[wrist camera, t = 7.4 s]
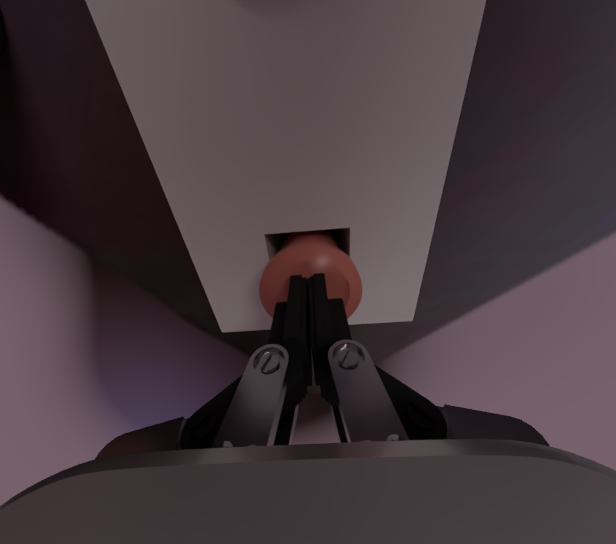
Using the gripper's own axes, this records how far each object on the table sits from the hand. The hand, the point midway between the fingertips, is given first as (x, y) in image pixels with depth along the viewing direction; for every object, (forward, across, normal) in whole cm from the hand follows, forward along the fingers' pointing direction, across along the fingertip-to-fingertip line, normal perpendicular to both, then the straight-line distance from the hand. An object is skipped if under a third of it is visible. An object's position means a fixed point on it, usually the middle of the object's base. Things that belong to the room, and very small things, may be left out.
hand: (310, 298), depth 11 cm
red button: (+5, 0, 0) cm, 5 cm away
